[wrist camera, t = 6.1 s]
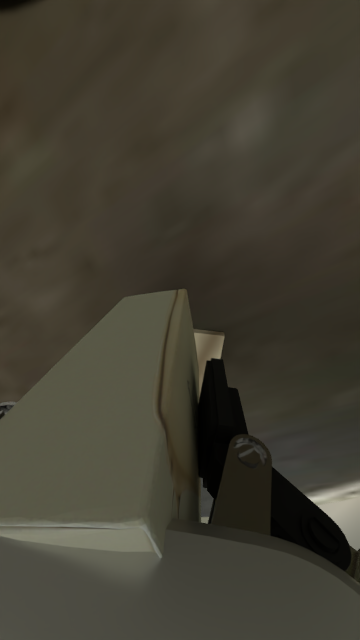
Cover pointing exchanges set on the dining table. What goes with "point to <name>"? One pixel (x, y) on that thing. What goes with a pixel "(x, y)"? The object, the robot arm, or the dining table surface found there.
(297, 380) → the dining table surface
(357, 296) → the dining table surface
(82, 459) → the skincare box
